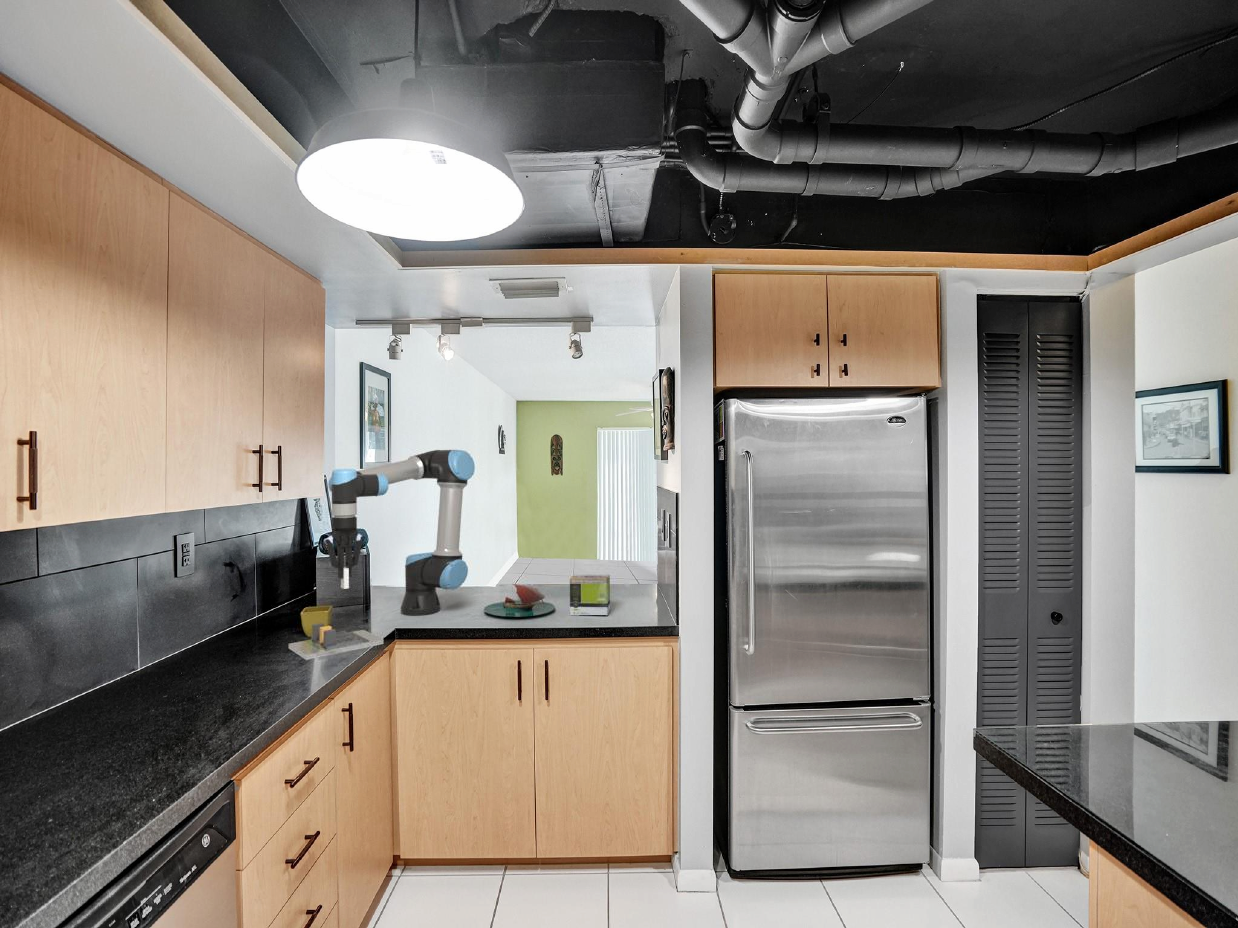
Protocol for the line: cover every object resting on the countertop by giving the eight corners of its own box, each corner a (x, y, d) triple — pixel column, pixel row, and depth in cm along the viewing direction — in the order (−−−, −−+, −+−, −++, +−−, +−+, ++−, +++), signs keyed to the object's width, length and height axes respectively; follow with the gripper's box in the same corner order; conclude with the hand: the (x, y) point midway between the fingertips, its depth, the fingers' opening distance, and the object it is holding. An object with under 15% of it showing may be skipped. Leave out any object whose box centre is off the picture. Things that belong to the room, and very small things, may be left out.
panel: (363, 633, 218) (363, 626, 218) (383, 643, 207) (383, 636, 207) (288, 648, 201) (288, 640, 201) (305, 659, 190) (305, 651, 190)
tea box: (610, 610, 254) (610, 574, 254) (607, 617, 244) (607, 578, 244) (573, 609, 255) (573, 573, 255) (569, 615, 245) (569, 578, 245)
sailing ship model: (538, 623, 234) (538, 593, 234) (470, 617, 241) (470, 588, 241) (564, 606, 261) (565, 579, 261) (503, 602, 268) (503, 575, 268)
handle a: (321, 638, 207) (321, 623, 207) (324, 639, 205) (324, 624, 205) (312, 639, 204) (312, 624, 204) (314, 641, 203) (314, 625, 203)
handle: (333, 644, 199) (333, 628, 199) (335, 646, 198) (335, 630, 198) (323, 646, 197) (323, 630, 197) (325, 647, 196) (325, 632, 196)
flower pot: (300, 639, 212) (300, 612, 211) (305, 632, 220) (305, 606, 220) (328, 637, 214) (328, 611, 214) (332, 630, 222) (332, 605, 222)
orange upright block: (329, 641, 203) (329, 625, 203) (331, 642, 202) (331, 626, 202) (319, 642, 201) (319, 627, 201) (321, 644, 200) (321, 628, 200)
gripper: (359, 514, 213) (360, 583, 213) (319, 516, 204) (320, 589, 204) (368, 515, 208) (369, 586, 208) (328, 518, 199) (328, 592, 199)
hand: (344, 587), depth 206 cm, fingers closed
